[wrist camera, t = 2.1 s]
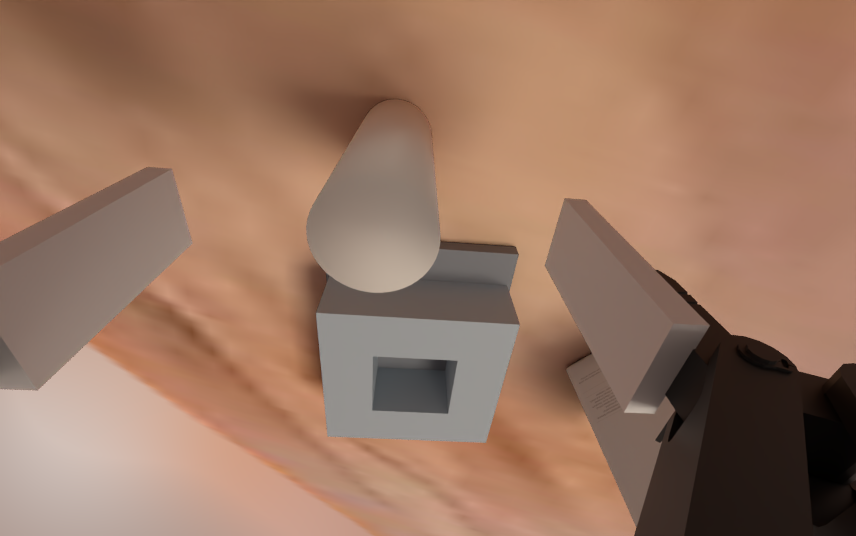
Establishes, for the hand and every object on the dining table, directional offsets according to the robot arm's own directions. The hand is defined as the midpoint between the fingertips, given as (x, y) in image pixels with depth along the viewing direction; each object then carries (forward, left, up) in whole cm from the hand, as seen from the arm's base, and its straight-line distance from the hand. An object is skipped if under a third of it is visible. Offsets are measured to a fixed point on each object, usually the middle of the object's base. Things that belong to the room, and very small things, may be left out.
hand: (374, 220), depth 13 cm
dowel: (0, 0, -10) cm, 10 cm away
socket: (+15, +2, -10) cm, 18 cm away
